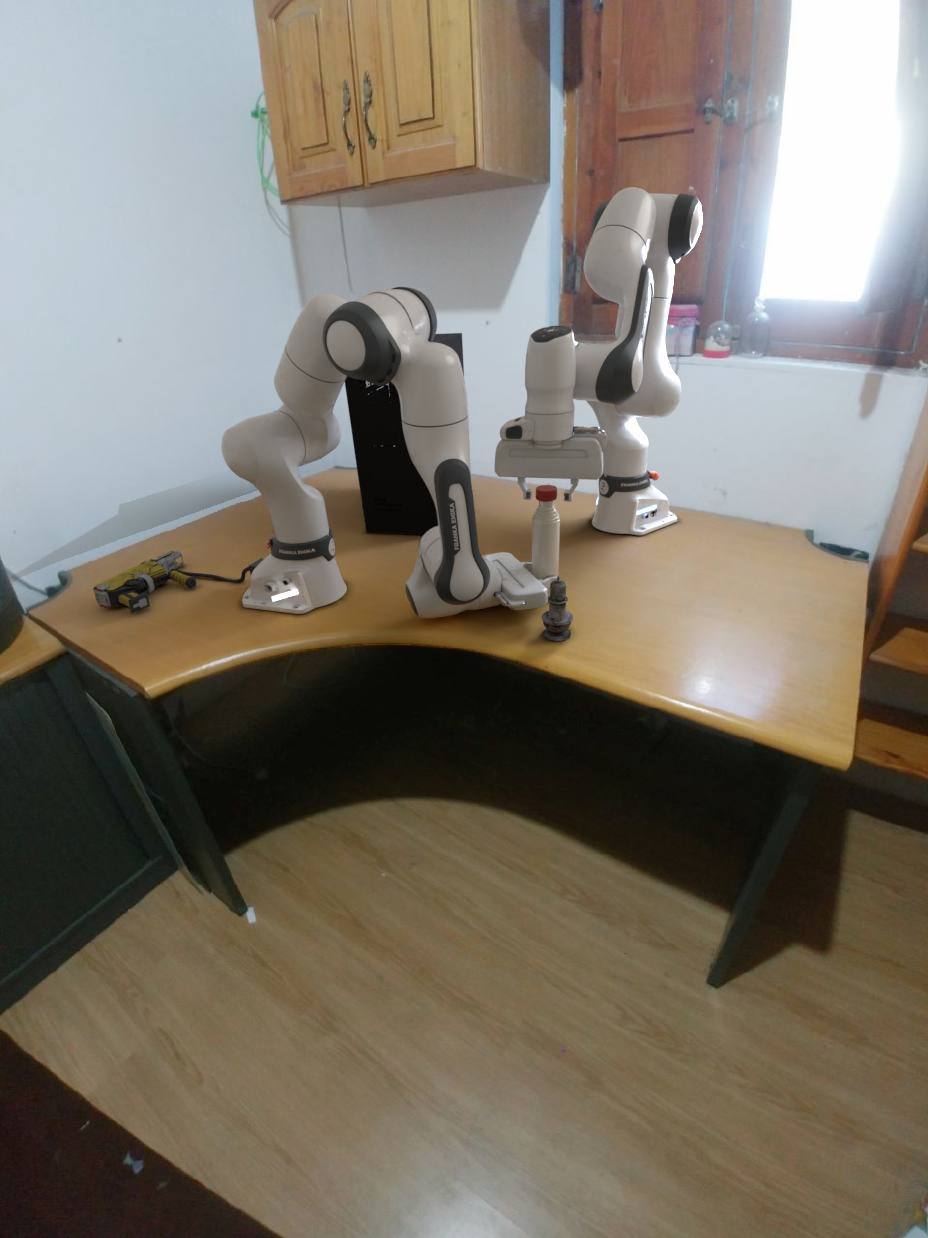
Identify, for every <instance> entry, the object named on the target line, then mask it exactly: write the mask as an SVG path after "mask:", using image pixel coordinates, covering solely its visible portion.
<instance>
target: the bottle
mask: <svg viewBox="0 0 928 1238" xmlns="http://www.w3.org/2000/svg"><path fill="white" fill-rule="evenodd" d="M560 536H561V516H560V514H559V511H558V510H557V508H556V506H555V504H554V501H550V502H542V501H538V505H537V507H536V508H535V510H534V512H533V514H532V517H531V563H532V572H531V574H532V575H533V576H534V577H535V578H536V579H537V580H540V579H542V580H545V579H547V576H550V575H555V576H556V577H558V576H559V575H560V574H559V573H560V572H559V570H560V543H561V542H560V541H561V540H560ZM547 590H548V597H549V596H550V587H549V588H548V589H547ZM548 602H549V601H548ZM548 602H547V603H548Z"/></svg>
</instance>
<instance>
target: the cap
mask: <svg viewBox="0 0 928 1238" xmlns="http://www.w3.org/2000/svg"><path fill="white" fill-rule="evenodd" d="M535 499H536V501H538V502H539V501H542V502H550V501H553V502H554V501H556V500H557V499H558V487H557V486H556V485H553V484H552V485H551V484H541V485H538V486H536V487H535Z"/></svg>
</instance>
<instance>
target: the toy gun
mask: <svg viewBox="0 0 928 1238" xmlns="http://www.w3.org/2000/svg"><path fill="white" fill-rule="evenodd" d="M180 558H181V562H179V561H177V560H178V559H180ZM144 562H145V563H143V562H142V563H143V564H141V563H140V564H141V565H140V564H139V565H136V566H134V567H132V568H130V569H128V570H126V571H124V572H122V573H119V574H117V575H115V576H113V577H111V578H109V579H107V580H104V581H103V582H101V583H98V584H96V585H95V586H93V587H92V590H93V593H94V596H95V600H96V602H97V605H99V606H100V607H101V608H105V609H108V608H115V607H121V606H127V607H129V609H130V614H136V613H138V612H141V611H142V610H145V609H147V608H150V607H151V605H150V601H149V596H148V595H150V594H151V593H153V592H154V591H155V589H156V588H155V587H158V586H160V585H163V584H165V583H168V581H172V582H175V583H178V584H180V585H182V586H185V587H187V588H188V589H193V588H195V587H196V586H197V580H196V579H197V578H196V577H194V576H187V575H184V574H182V573H179V572H177V571H171V570H172V569H176V570H178V568H180V567H183V566H185V565H184V564H185V562H184V558H183V554H182V552H181V551H178V550H177V551H175V550H174V549H172V550H170V551H168V552H166V553H164V554H161V555H159V556H157V557H156V558H153V559H152V558H151V559H149V560H147V561H144Z"/></svg>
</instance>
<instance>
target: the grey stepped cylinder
mask: <svg viewBox="0 0 928 1238" xmlns="http://www.w3.org/2000/svg"><path fill="white" fill-rule="evenodd" d="M568 600H569V598H568V596H567V583H566V581H564V580H562V579H561V577H560V576H559V575H558V577H557V580H554V581H552V582H551V584H550V596H549V597H548V601H549V605H548V610H546V611H544V612H543V613H542V614H541V616H540V617H541V620H542V621H543V622H542V623H543V626H544V629H543V630H542V636H543V637H544V638H545V639H547V640H548V641H553V642H554V641H555V642H561V641H565V640H568V639H570V637H571V636H572V632H571V630H570V629H569V628H570V626H571V625H572V622H573V621H574V615H573V614H572V613H571V612H570V611H567V602H568Z"/></svg>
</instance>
